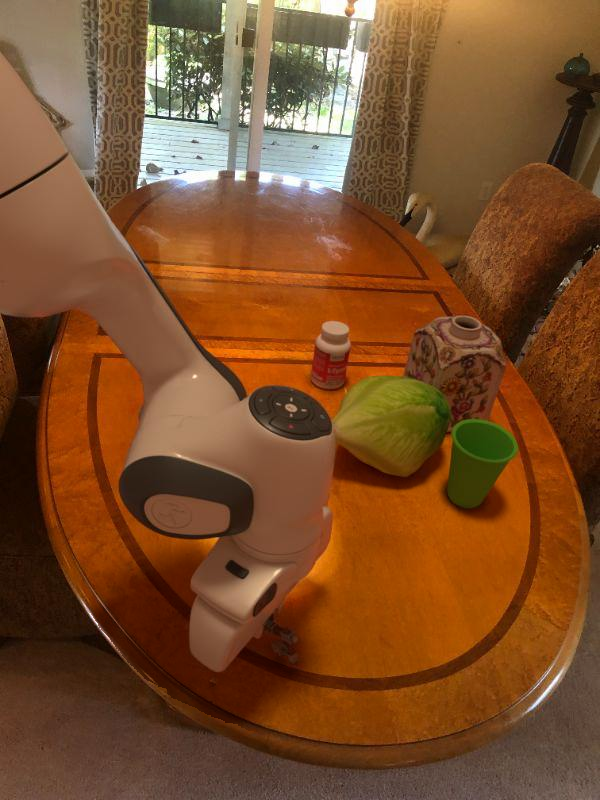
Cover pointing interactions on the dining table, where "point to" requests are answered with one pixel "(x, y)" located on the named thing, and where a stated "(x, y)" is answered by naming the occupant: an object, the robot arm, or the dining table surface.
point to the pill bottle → (331, 355)
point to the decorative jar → (459, 364)
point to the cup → (477, 460)
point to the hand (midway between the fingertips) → (263, 623)
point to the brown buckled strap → (287, 639)
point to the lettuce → (392, 423)
